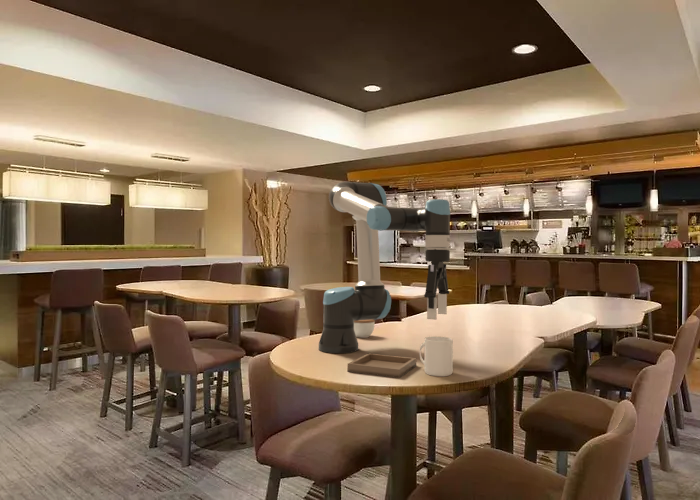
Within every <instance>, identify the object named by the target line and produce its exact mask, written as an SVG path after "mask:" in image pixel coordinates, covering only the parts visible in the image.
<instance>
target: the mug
mask: <svg viewBox="0 0 700 500" xmlns="http://www.w3.org/2000/svg"><path fill="white" fill-rule="evenodd" d="M453 340H454V339H453V338H451V337H447V336H437V335H435V336H434V335H433V336H432V335H431V336H426V337H425V338H424V342H422V343H421V344H420V346H419V349H418V350H419V353H418V354H419V359H420V362H421V363H422V364H423V367H424V373H425V375H428V376H432V377H448V376H451V375H452V374H453V368H454V365H453V364H454V362H453V357H454V355H453V354H454V349H453V346H454V345H453V342H454V341H453ZM423 348H424V358H423V357H422V353H421V352H422V349H423Z"/></svg>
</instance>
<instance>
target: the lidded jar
mask: <svg viewBox="0 0 700 500" xmlns="http://www.w3.org/2000/svg"><path fill="white" fill-rule="evenodd" d="M375 322H376V320H356V321H354V331H355V334H356V338H361V339H363V338H369V337H370V336H371V335H372V334H373V333H374V329H375V324H376V323H375Z"/></svg>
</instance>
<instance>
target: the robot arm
mask: <svg viewBox="0 0 700 500" xmlns="http://www.w3.org/2000/svg"><path fill="white" fill-rule="evenodd" d="M387 199H388V198H387V194H386V191H385V189H384V188H383V186H381V185H380V184H377V183H373V182H356V181H340V182H338V183H337V184H335V185H334V186H333V187H331V188H330V191H329V193H328V201H329V205H330V206H331V207H332V208H333V209H334V210H335V211H338V212H340V213H348V214H350V215H351V217H352V219H353V220H354V221H355V222H356V223H355V224H356V227H355V228H356V247H357V249H356V251H357V252H356V253H357V270H358V271H357V272H358V274H357V275H358V276H357V278H358V281H357V282H356V283H355V286H340V287H339V286H338V287H334V288H330V289H327V290H325V291H324V293H323V300H322V304H323V311H322V312H323V314H322V315H323V316H322V317H323V329H322V332H321V336H320V338H319V340H318V341H319V342H318V350H319V351H320V352H323V353H330V354H347V353H353V352H357V351H359V342H358V341H359V340H358V337H356V334H355V331H354V321H356V320H375V321H376V320H379V319H384V318H385V317H386V316H387V315H388V314H389V313H390V310H391V308H392V307H391V305H392V296H391V294H390V293H391V292H390V291H389V290H388V289H386V287H385V283H383V282H382V281H381V267H380V266H381V265H380V263H381V262H380V242H379V232H380V231H400V232H401V231H402V232H403V231H406V232H413V233H415V232H416V233H418V232H424V231H425V243H424V245H425V248H426V250H425V254H424V255H425V256H424V257H425V262H431V264H428V265H427V278H426V286H425V292H424V294H423V296H424V297H423V298H426V306H427V307H426V313H427V314H426V320H432V321H433V320H437V317H438V316H437V314H438V315H447V313H448V311H447V310H448V304H447V303H448V302H447V299H448V298H447V297H448V295H450V290H449V284H448V276H447V275H448V274H447V264H446V263H445V262H450V257H451V256H450V254H451V253H450V252H451V251H450V250H449V248H450V245H451V244H450V242H452V238H451V236H450V235H451V232H450V230H451V225H450V224H451V210H450V209H451V208H450V207H451V206H450V202H449V201H448V200H447V199H437V198H436V199H428V200H426V202H425V207H420V208H417V207H416V208H415V207H413V208H412V207H396V206H395V207H394V206H387V204H388V201H387ZM437 292H438V294H437ZM436 296H437V297H436Z"/></svg>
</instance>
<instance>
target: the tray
mask: <svg viewBox="0 0 700 500" xmlns="http://www.w3.org/2000/svg"><path fill="white" fill-rule="evenodd" d="M415 367H417V358H416V357H410V356H409V357H407V356H397V355H396V356H395V355H388V354H377V353H367V354H365V355H362V356H360V357H358V358H356V359H354V360H352V361H350V362H348V363H347V371H346V372H348V373H357V374H364V375H372V376H378V377H379V376H380V377H389V378H396V379H397V378H399V379H400V378H401V377H403V376H404V375H406V374H407V373H408V372H410V371H411V370H413V369H414V368H415Z"/></svg>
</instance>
